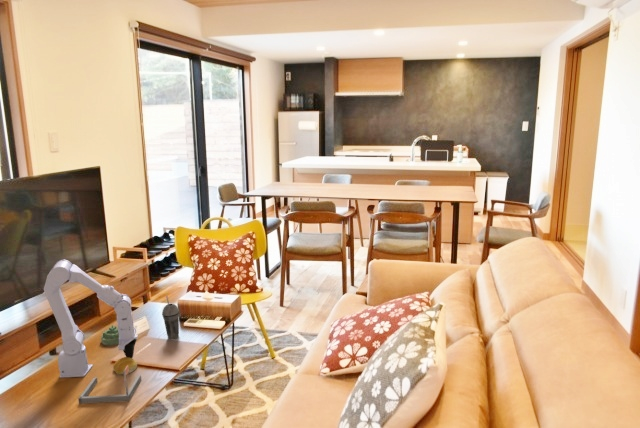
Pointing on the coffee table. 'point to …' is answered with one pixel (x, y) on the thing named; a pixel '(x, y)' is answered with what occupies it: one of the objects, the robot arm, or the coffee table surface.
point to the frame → (109, 398)
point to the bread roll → (124, 365)
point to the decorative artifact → (110, 336)
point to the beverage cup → (171, 320)
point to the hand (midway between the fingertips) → (129, 357)
